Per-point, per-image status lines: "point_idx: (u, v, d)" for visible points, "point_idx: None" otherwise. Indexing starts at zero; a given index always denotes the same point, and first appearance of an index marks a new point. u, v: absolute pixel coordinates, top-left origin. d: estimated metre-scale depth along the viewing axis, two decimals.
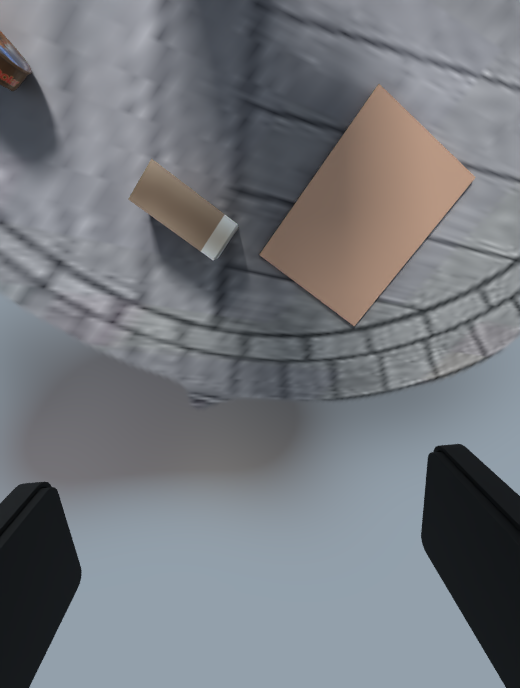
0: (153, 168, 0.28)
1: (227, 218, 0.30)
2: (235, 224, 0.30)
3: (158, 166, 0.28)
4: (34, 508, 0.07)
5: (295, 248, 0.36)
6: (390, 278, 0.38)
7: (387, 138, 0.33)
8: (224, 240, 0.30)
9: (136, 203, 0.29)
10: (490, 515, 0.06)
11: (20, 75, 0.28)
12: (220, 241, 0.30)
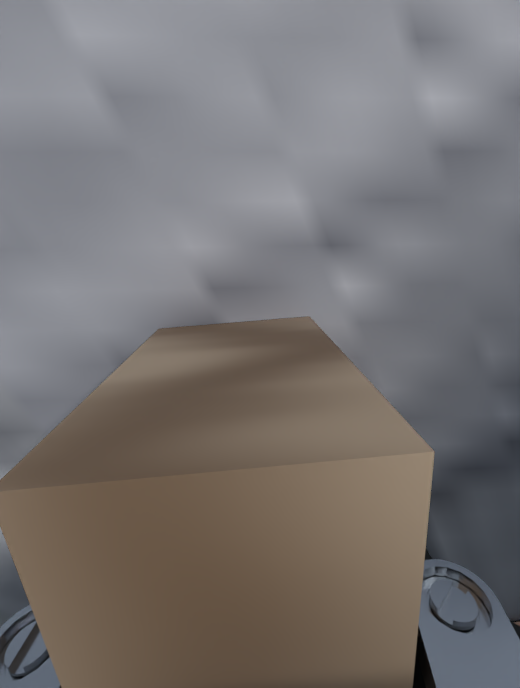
0: (372, 504, 0.03)
1: None
2: None
3: (411, 522, 0.03)
4: None
5: None
6: None
7: None
8: None
9: (26, 556, 0.03)
10: None
11: None
12: None
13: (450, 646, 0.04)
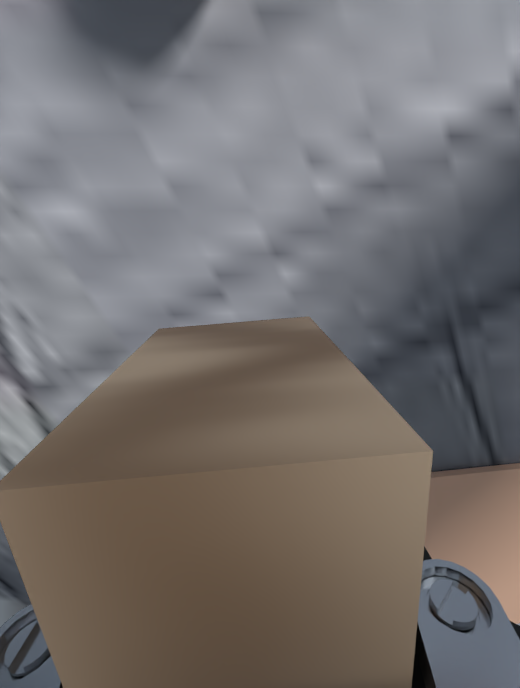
0: (371, 503, 0.03)
1: None
2: None
3: (409, 521, 0.03)
4: None
5: None
6: None
7: None
8: None
9: (27, 554, 0.03)
10: None
11: None
12: None
13: (450, 646, 0.04)
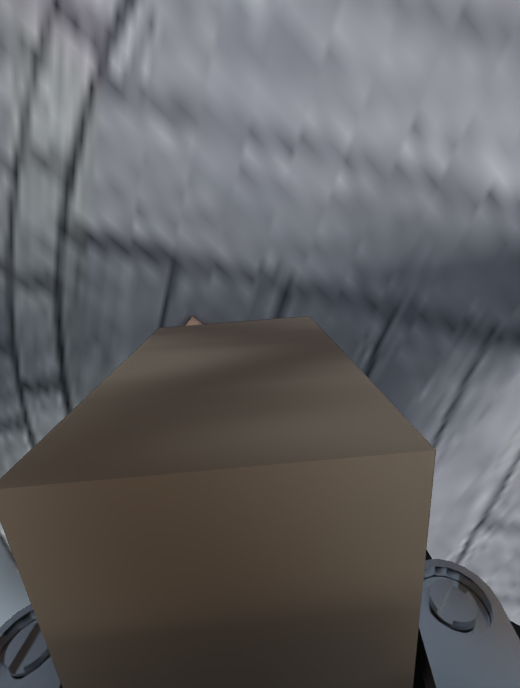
0: (373, 503, 0.03)
1: None
2: None
3: (412, 521, 0.03)
4: None
5: None
6: None
7: None
8: None
9: (27, 553, 0.03)
10: None
11: None
12: None
13: (450, 646, 0.04)
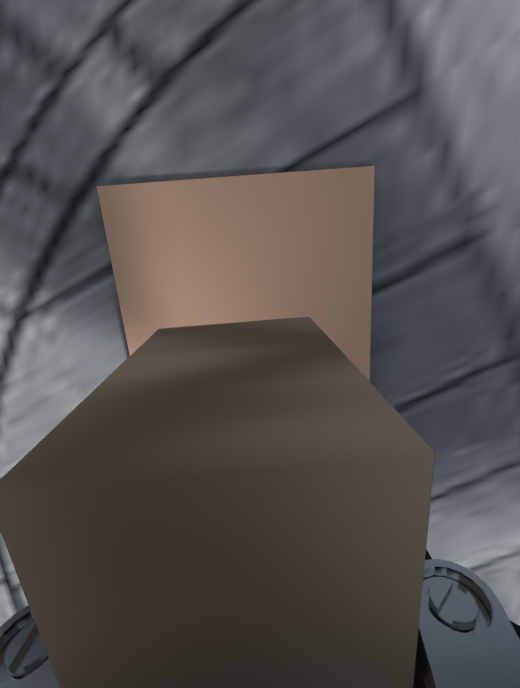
0: (372, 505, 0.03)
1: None
2: None
3: (411, 523, 0.03)
4: None
5: (320, 230, 0.17)
6: (127, 317, 0.18)
7: None
8: None
9: (25, 557, 0.03)
10: None
11: None
12: None
13: (450, 646, 0.04)
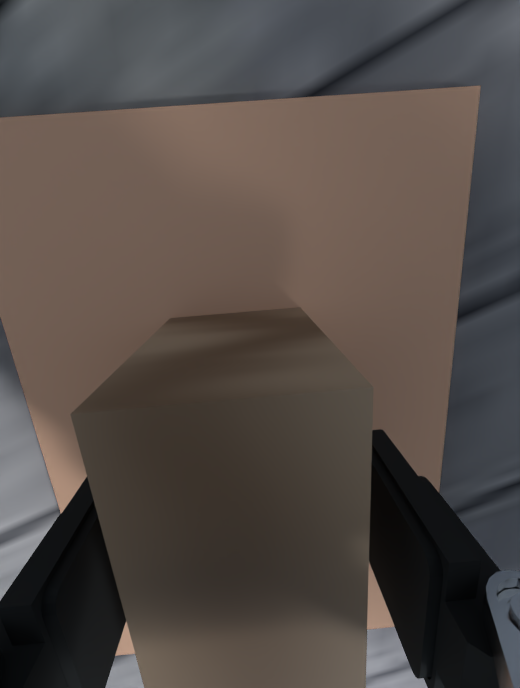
0: (332, 425, 0.04)
1: None
2: None
3: (360, 439, 0.05)
4: None
5: (371, 211, 0.09)
6: (24, 368, 0.10)
7: None
8: None
9: (93, 462, 0.04)
10: (387, 488, 0.07)
11: None
12: None
13: None
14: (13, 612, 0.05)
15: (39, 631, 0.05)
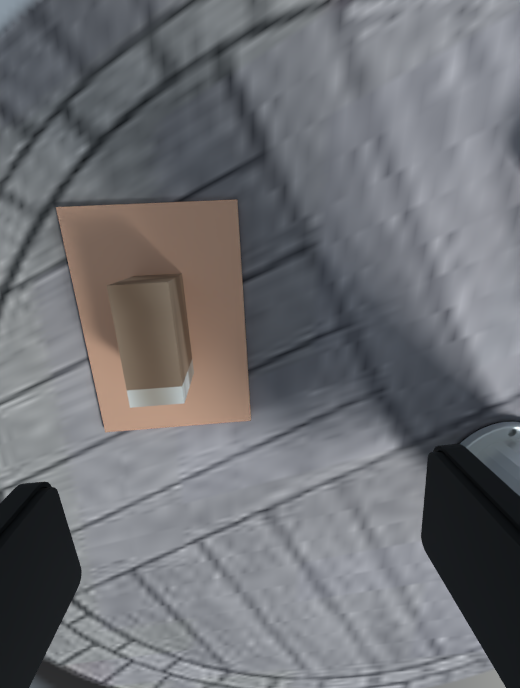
0: (160, 290, 0.22)
1: (180, 391, 0.24)
2: (182, 402, 0.24)
3: (167, 294, 0.22)
4: (34, 508, 0.07)
5: (205, 239, 0.27)
6: (78, 293, 0.27)
7: (208, 395, 0.31)
8: (158, 403, 0.24)
9: (110, 296, 0.22)
10: (490, 515, 0.06)
11: None
12: (153, 400, 0.24)
13: None
14: None
15: None
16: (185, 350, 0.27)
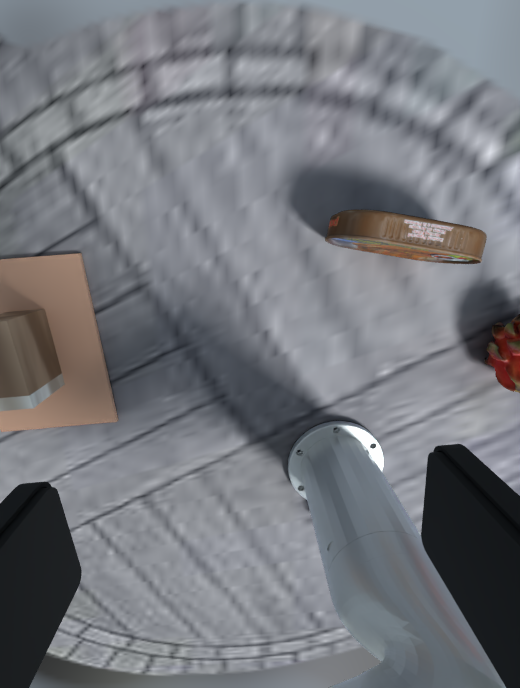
0: (2, 326, 0.30)
1: (29, 399, 0.32)
2: (31, 407, 0.33)
3: (7, 329, 0.30)
4: (34, 508, 0.07)
5: (58, 283, 0.35)
6: None
7: (79, 402, 0.39)
8: (14, 408, 0.33)
9: None
10: (490, 515, 0.06)
11: (327, 233, 0.32)
12: (9, 406, 0.33)
13: None
14: None
15: None
16: (43, 368, 0.35)
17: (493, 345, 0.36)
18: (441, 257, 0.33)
